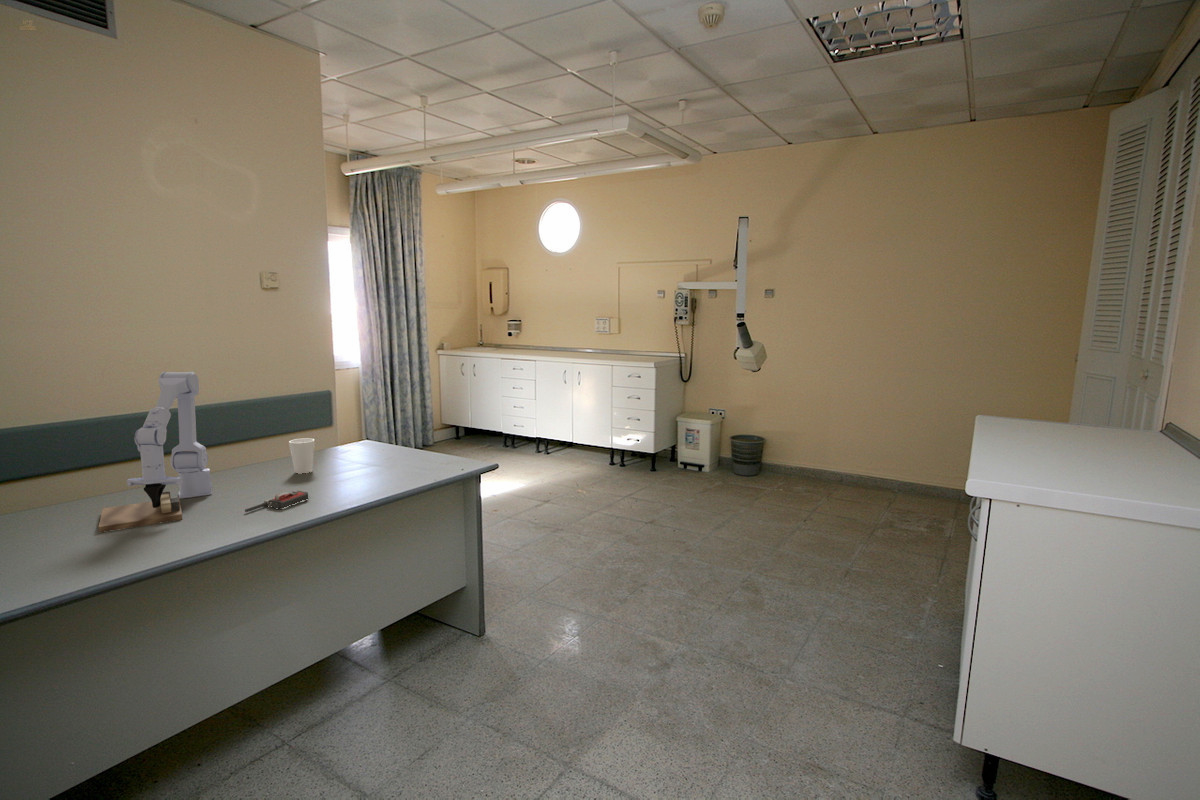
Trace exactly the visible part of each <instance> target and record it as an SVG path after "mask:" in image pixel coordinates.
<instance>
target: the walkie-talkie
mask: <svg viewBox="0 0 1200 800" xmlns="http://www.w3.org/2000/svg"><path fill="white" fill-rule="evenodd" d="M306 499H308V500H309V492H308V491H302V490H291V492H289V491H285V492H282V493H279V494H276V495H275V497H272V498H269V499H266V500H264V501H263V502H262V503H260V504H258V505H254V506H252V507H249V508H248V507H247V508H246V509H244V512H245V513H248V512H252V511H255V510H258V509H260V508H265V507H267V506H269V507H271V506H272V507H274V508H273V509H275V508H284V507H287V506H289V505H292V504H295V503H297V502H300V501H302V500H306Z"/></svg>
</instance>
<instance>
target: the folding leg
mask: <svg viewBox="0 0 1200 800" xmlns="http://www.w3.org/2000/svg"><path fill="white" fill-rule="evenodd" d="M171 499H172V498H171V492H170V491H163V492H162V495H161V498H160V502H161V510H162V513H168V512H171Z"/></svg>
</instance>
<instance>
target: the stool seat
mask: <svg viewBox="0 0 1200 800" xmlns="http://www.w3.org/2000/svg"><path fill="white" fill-rule="evenodd" d="M181 519H182V520H183V513H182V505H181V499H179V497H174V498H171V512H168V513H162V510H161V504H160V506H159V507H157V508H153V506H152V500H150V501H146V502H140V503H139V502H138V503H132V504H123V505H116V506H110V507H104V508H103V507H102V511H101V514H100V519H99V524H98V533H99V532H102V533H105V532H104V531H108V532H111V531H110V530H114V531H119V530H118V529H120V530H125V529H124V528H127V529H132V528H131V527H133V528H139V527H145V526H151V525H150V524H152V525H156V524H155V523H158V524H161V523H160V522H164V523H168V522H167V521H170V522H175V521H174V520H176V521H182V520H181ZM144 525H145V526H144ZM138 526H139V527H138Z"/></svg>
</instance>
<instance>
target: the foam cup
mask: <svg viewBox="0 0 1200 800" xmlns="http://www.w3.org/2000/svg"><path fill="white" fill-rule="evenodd" d="M315 446H316V442H315V438H309V437H308V438H307V437H306V438H305V437H304V438H303V437H302V438H295V439H292V440H289V441H288V448H289V451H290V455H291V459H292V460H291V461H292V465H293V468H294V469H293V470H294V473H295V474H296V473H298V475H303V474H302V473H306V474H310V473H312V472H313V465H314V456H315V455H314V454H315ZM309 472H310V473H309Z"/></svg>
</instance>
